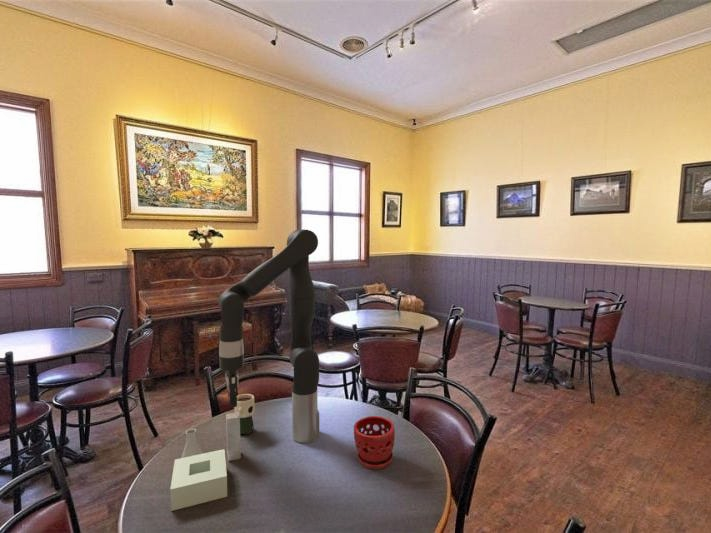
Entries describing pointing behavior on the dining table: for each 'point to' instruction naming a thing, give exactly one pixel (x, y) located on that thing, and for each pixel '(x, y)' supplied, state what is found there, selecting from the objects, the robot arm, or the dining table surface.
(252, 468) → the dining table surface
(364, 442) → the plant pot
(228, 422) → the rectangular block
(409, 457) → the dining table surface
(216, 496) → the well block
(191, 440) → the flask
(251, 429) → the character mug
